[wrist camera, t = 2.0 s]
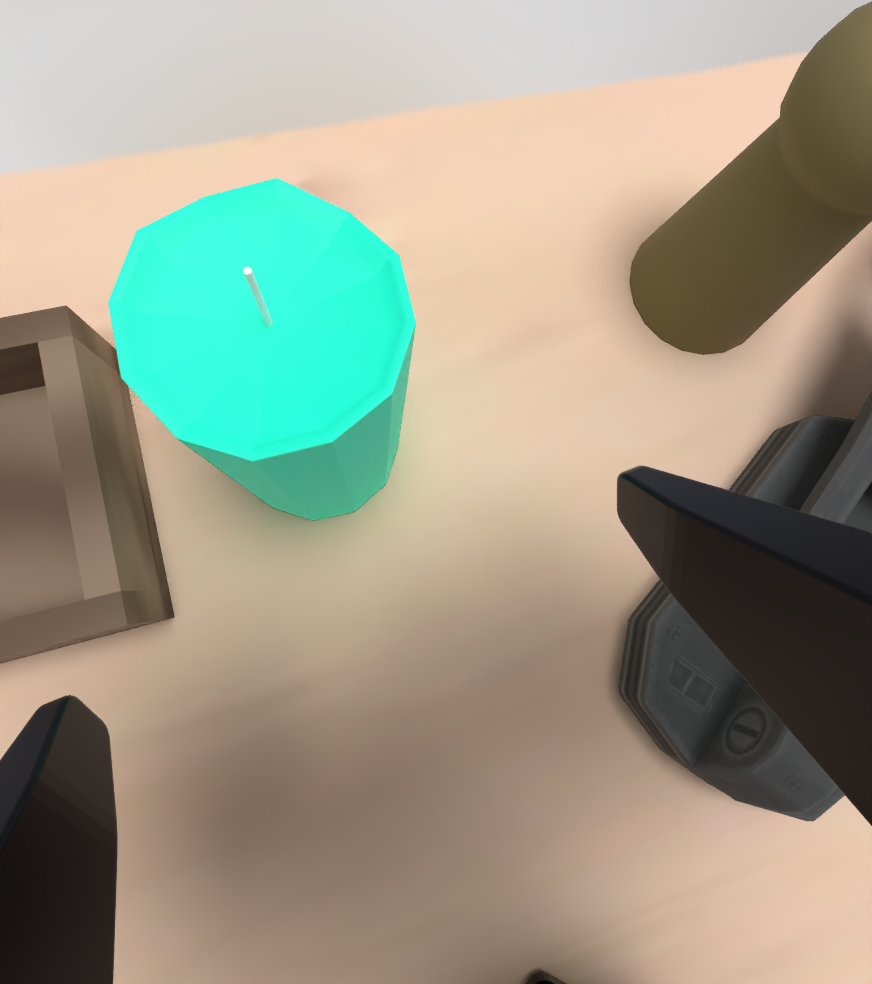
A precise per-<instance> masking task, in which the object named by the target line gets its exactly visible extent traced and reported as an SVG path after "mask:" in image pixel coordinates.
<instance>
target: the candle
mask: <svg viewBox="0 0 872 984" xmlns="http://www.w3.org/2000/svg"><path fill="white" fill-rule="evenodd" d="M108 304H109V309H110V315H111V321H112V327H113V333H114V339H115V344H116V350H117V356H118V362H119V368H120V374H121V378H122V379H123V380H124V381H125V382H126V384H127V385H128V386H129V387H130V388H131V389H132V390H133V391H134V392H135V393H136V394H137V396H138V397H139V398H140V399H141V400H142V401H143V402H144V403H145V404H146V405H147V406H148V408H149V409H150V410H151V411H152V412H153V413H154V414H155V415H156V416H157V417H158V418H159V420H160V421H161V422H162V423H163V424H164V425H165V426H166V427H167V428H168V429H169V430H170V432H171V433H172V434H173V435H174V436H175V437H176V438H177V439H178V440H180V441H181V442H182V443H184V444H185V445H187V446H188V447H189V448H191V449H192V450H193V451H195V452H196V453H198V454H199V455H200V456H202V457H203V458H204V459H206V460H207V461H209V462H210V463H211V464H213V465H214V466H215V467H217V468H218V469H220V470H221V471H222V472H224V473H225V474H227V475H228V476H229V477H231V478H232V479H233V480H235V481H236V482H238V483H239V484H240V485H242V486H243V487H244V488H246V489H247V490H249V491H250V492H251V493H253V494H254V495H255V496H257V497H258V498H260V499H261V500H262V501H264V502H265V503H266V504H268V505H269V506H271V507H272V508H274V509H277V510H281V511H284V512H287V513H290V514H293V515H297V516H300V517H303V518H306V519H309V520H313V521H314V520H319V519H323V518H328V517H333V516H337V515H342V514H347V513H351V512H355V511H356V510H357V509H358V508H360V507H361V506H362V505H363V504H364V503H365V502H366V501H367V500H369V499H370V498H371V497H372V496H373V495H374V494H375V493H376V492H378V491H379V490H380V489H381V488H382V487H383V486H384V485H385V484H386V482H387V479H388V476H389V472H390V469H391V466H392V463H393V460H394V457H395V454H396V451H397V448H398V443H399V436H400V429H401V422H402V415H403V408H404V402H405V395H406V388H407V381H408V374H409V367H410V360H411V353H412V346H413V339H414V332H415V325H416V321H415V317H414V313H413V309H412V305H411V301H410V297H409V293H408V289H407V285H406V281H405V277H404V273H403V269H402V265H401V261H400V257H399V255H398V254H397V253H396V252H395V251H394V250H392V249H391V248H390V247H389V246H388V245H387V244H385V243H384V242H383V241H382V240H381V239H380V238H378V237H377V236H376V235H375V234H374V233H373V232H371V231H370V230H369V229H368V228H367V227H366V226H364V225H363V224H362V223H361V222H360V221H359V220H357V219H356V218H355V217H354V216H353V215H352V214H350V213H349V212H347V211H345V210H343V209H341V208H339V207H337V206H334V205H332V204H330V203H328V202H326V201H324V200H322V199H320V198H318V197H316V196H313V195H311V194H309V193H307V192H305V191H303V190H301V189H299V188H297V187H295V186H292V185H290V184H288V183H286V182H284V181H282V180H280V179H278V178H276V179H272V180H268V181H264V182H260V183H256V184H253V185H249V186H245V187H241V188H237V189H233V190H229V191H225V192H222V193H218V194H214V195H210V196H206V197H203V198H201V199H199V200H197V201H195V202H193V203H191V204H189V205H187V206H185V207H183V208H181V209H179V210H177V211H175V212H173V213H171V214H169V215H167V216H165V217H163V218H161V219H159V220H157V221H155V222H153V223H151V224H149V225H147V226H145V227H143V228H141V229H139V230H137V231H136V234H135V236H134V239H133V241H132V244H131V246H130V249H129V251H128V254H127V257H126V259H125V262H124V264H123V267H122V269H121V272H120V274H119V277H118V279H117V282H116V284H115V287H114V289H113V292H112V294H111V297H110V299H109V302H108Z"/></svg>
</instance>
